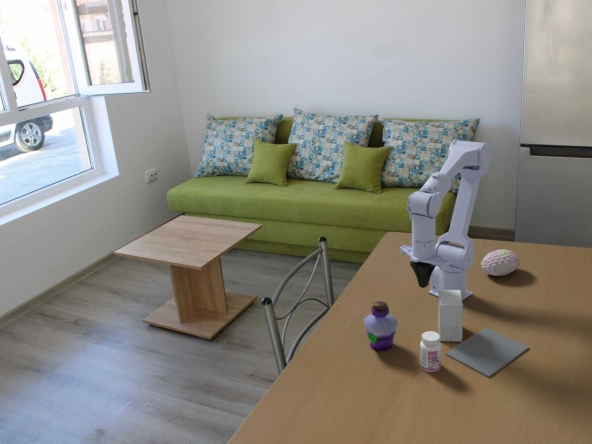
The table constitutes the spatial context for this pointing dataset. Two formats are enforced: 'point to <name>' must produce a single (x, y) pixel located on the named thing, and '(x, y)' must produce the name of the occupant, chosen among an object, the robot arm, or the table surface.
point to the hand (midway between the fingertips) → (423, 285)
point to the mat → (487, 351)
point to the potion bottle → (380, 326)
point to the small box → (450, 315)
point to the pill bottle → (430, 351)
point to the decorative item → (500, 262)
